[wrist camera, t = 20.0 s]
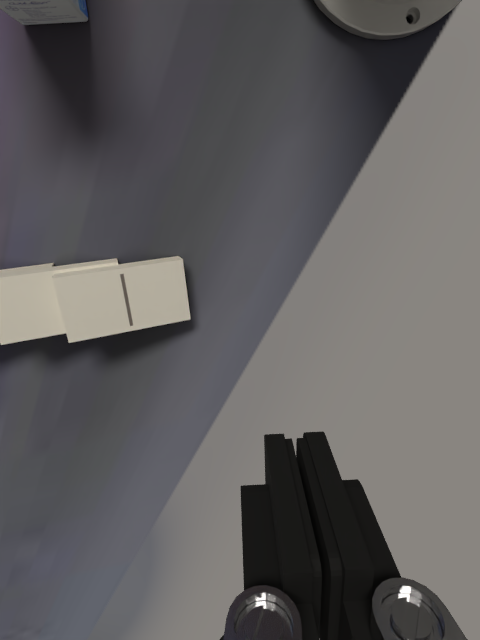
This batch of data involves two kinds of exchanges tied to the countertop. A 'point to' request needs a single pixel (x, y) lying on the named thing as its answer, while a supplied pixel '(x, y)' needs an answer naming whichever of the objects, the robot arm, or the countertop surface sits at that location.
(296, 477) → the robot arm
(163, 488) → the countertop surface
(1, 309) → the domino
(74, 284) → the domino
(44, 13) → the medicine box
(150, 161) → the countertop surface
